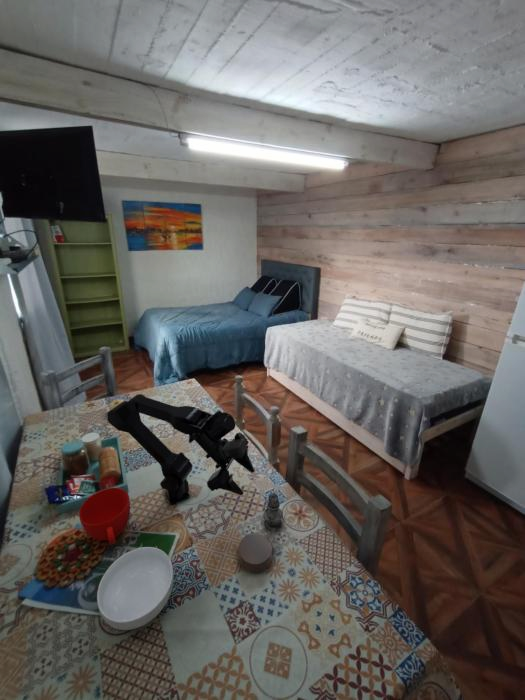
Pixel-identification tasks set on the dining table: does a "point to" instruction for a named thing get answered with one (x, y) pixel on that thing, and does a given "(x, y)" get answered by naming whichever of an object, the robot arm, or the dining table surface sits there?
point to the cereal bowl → (135, 588)
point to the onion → (115, 403)
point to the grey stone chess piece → (273, 513)
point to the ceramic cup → (105, 514)
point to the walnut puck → (255, 552)
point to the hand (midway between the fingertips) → (248, 482)
